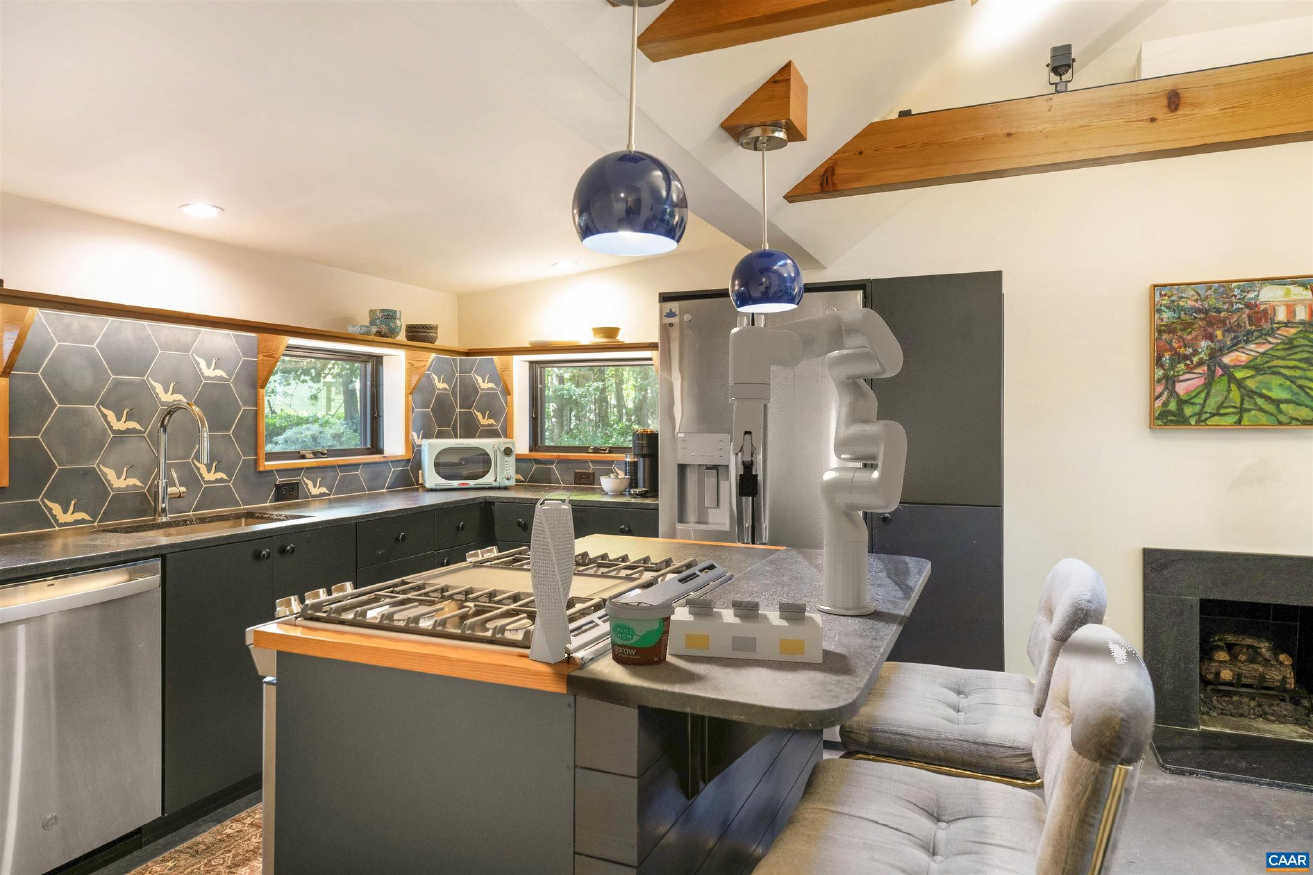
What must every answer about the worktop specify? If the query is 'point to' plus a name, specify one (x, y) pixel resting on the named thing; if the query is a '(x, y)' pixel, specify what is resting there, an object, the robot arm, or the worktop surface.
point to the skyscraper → (551, 577)
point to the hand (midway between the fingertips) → (748, 495)
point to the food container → (639, 632)
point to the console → (746, 634)
